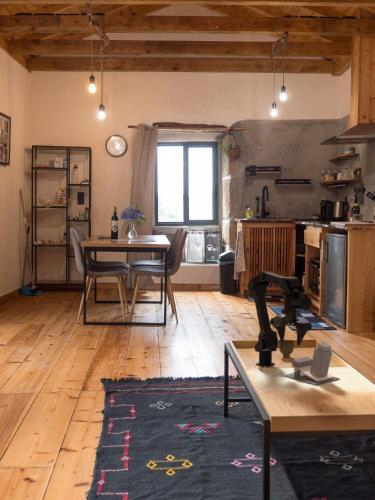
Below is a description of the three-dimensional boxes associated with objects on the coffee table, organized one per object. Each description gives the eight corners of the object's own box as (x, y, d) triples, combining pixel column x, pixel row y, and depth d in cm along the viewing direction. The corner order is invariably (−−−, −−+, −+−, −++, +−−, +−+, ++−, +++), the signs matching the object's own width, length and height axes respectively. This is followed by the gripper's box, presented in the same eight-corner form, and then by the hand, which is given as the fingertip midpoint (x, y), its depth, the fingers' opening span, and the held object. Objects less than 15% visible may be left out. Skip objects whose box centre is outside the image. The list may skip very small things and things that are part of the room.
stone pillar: (309, 372, 218) (315, 343, 215) (317, 370, 221) (323, 341, 218) (319, 378, 214) (325, 348, 211) (327, 376, 217) (333, 346, 214)
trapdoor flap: (290, 366, 223) (292, 359, 222) (306, 362, 229) (307, 356, 228) (317, 381, 212) (318, 374, 211) (333, 377, 218) (334, 371, 217)
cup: (295, 359, 252) (295, 342, 252) (279, 359, 253) (280, 342, 252) (292, 355, 260) (292, 339, 260) (277, 355, 260) (277, 339, 260)
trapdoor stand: (283, 376, 223) (283, 366, 223) (307, 370, 232) (307, 361, 232) (316, 385, 209) (316, 375, 209) (339, 379, 218) (339, 369, 218)
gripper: (261, 306, 227) (260, 342, 228) (294, 311, 212) (294, 350, 213) (279, 304, 234) (278, 339, 234) (312, 309, 219) (312, 346, 220)
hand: (290, 343), depth 225 cm, fingers open, 9 cm apart
